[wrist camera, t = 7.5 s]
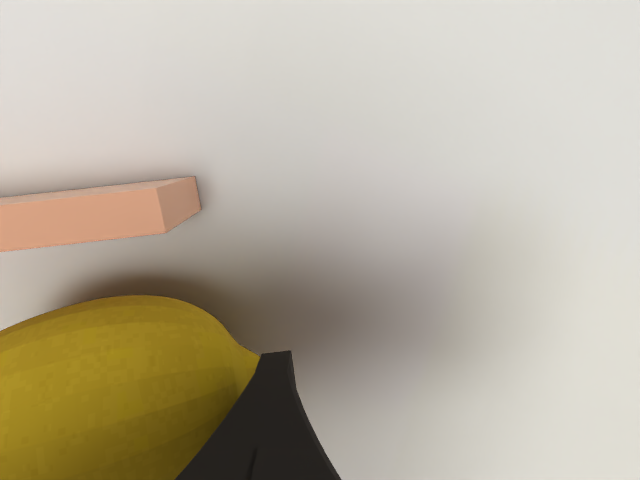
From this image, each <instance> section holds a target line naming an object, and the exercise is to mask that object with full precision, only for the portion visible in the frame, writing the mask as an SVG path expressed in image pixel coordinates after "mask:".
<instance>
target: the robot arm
mask: <svg viewBox="0 0 640 480" xmlns="http://www.w3.org/2000/svg"><path fill="white" fill-rule="evenodd" d="M174 480H341V478H340V477H339V475H338V473H337V472H336V470H335V468H334V467H333V465H332V463H331V462H330V460H329V458H328V457H327V455H326V453H325V451H324V449H323V448H322V446H321V444H320V442H319V440H318V438H317V436H316V434H315V432H314V430H313V428H312V426H311V424H310V422H309V420H308V417H307V415H306V413H305V411H304V408H303V405H302V403H301V400H300V398H299V395H298V392H297V390H296V383H295V375H294V368H293V361H292V354H291V351H283V352H274V353H265V354H262V355H261V357H260V359H259V361H258V364H257V367H256V370H255V373H254V375H253V376H252V378H251V379H250V381H249V383H248V384H247V386H246V387H245V389H244V390H243V392H242V393H241V395H240V396H239V398H238V399H237V401H236V402H235V404H234V405H233V407H232V408H231V410H230V411H229V412H228V414H227V415H226V417H225V418H224V419H223V421H222V422H221V423H220V425H219V426H218V427H217V429H216V430H215V431H214V432H213V434H212V435H211V436H210V438H209V439H208V440H207V442H206V443H205V444H204V446H203V447H202V448H201V449H200V450H199V452H198V453H197V454H196V455H195V456H194V458H193V459H192V460H191V461H190V462H189V464H188V465H187V466H186V467H185V468H184V469H183V471H182V472H181V473H180V474H179V475H178V476H177V477H176V478H175V479H174Z"/></svg>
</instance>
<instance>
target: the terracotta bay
mask: <svg viewBox="0 0 640 480" xmlns="http://www.w3.org/2000/svg"><path fill="white" fill-rule="evenodd" d="M200 210H201V205H200V200H199V195H198V190H197V185H196V179H195V176H193V177H184V178H175V179H165V180H156V181H147V182H138V183H129V184H120V185H111V186H102V187H93V188H84V189H74V190H65V191H56V192H47V193H38V194H29V195H20V196H11V197H2V198H0V252H5V251H13V250H22V249H31V248H40V247H48V246H57V245H66V244H75V243H83V242H92V241H101V240H110V239H119V238H127V237H136V236H145V235H154V234H162V233H167V232H168V231H170V230H171V229H173V228H174V227H176V226H177V225H179V224H180V223H182V222H183V221H185V220H186V219H188V218H189V217H191V216H192V215H194V214H195V213H197V212H198V211H200Z"/></svg>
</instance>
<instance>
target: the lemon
mask: <svg viewBox="0 0 640 480" xmlns="http://www.w3.org/2000/svg"><path fill="white" fill-rule="evenodd" d="M259 359H260V356H258V355H257V354H255V353H253V352H251V351H250V350H248V349H246V348H244V347H242V346H240V345H239V344H238V343H237V342H236V341H235V340H234V339H233V337H232V336H231V335H230V334H229V332H228V331H227V330H226V328H225V327H224V326H223V324H221V323H220V322H219V321H218V320H217V319H216V318H215V317H214V316H212V315H211V314H209V313H208V312H206V311H205V310H203V309H201V308H199V307H197V306H195V305H193V304H190V303H188V302H184V301H181V300H178V299H174V298H168V297H163V296H152V295H128V296H115V297H107V298H100V299H95V300H90V301H86V302H81V303H78V304H74V305H70V306H67V307H63V308H60V309H57V310H54V311H50V312H47V313H44V314H41V315H38V316H36V317H33V318H30V319H28V320H25V321H22V322H20V323H18V324H15V325H13V326H11V327H8V328H6V329H4V330H2V331H0V480H174V479H175V478H176V477H177V476H178V475H179V474H180V473H181V472H182V471H183V469H184V468H185V467H186V466H187V465H188V464H189V462H190V461H191V460H192V459H193V458H194V456H195V455H196V454H197V453H198V452H199V450H200V449H201V448H202V447H203V446H204V444H205V443H206V442H207V440H208V439H209V438H210V436H211V435H212V434H213V432H214V431H215V430H216V429H217V427H218V426H219V425H220V423H221V422H222V421H223V419H224V418H225V417H226V415H227V414H228V412H229V411H230V410H231V408H232V407H233V405H234V404H235V402H236V401H237V399H238V398H239V396H240V395H241V393H242V392H243V390H244V389H245V387H246V386H247V384H248V383H249V381H250V379H251V378H252V376H253V375H254V373H255V370H256V367H257V364H258V361H259Z"/></svg>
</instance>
